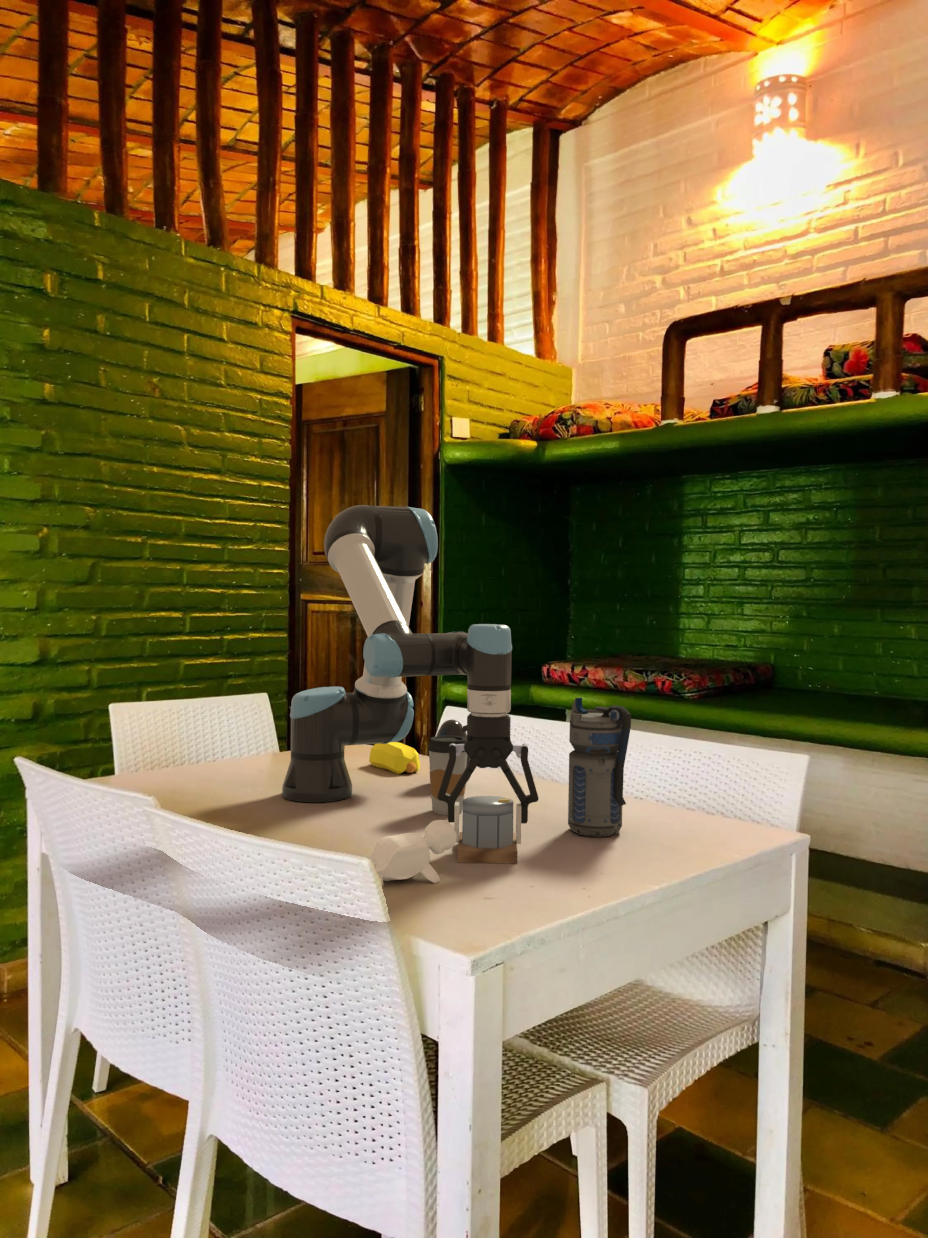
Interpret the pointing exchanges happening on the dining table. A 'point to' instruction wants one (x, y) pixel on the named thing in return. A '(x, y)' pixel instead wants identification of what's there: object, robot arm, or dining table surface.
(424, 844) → the white animal figurine
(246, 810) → the dining table surface
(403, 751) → the yellow faceted long part
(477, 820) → the cap
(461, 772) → the coffee cup
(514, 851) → the stud base
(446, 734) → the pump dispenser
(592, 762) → the beverage bottle
